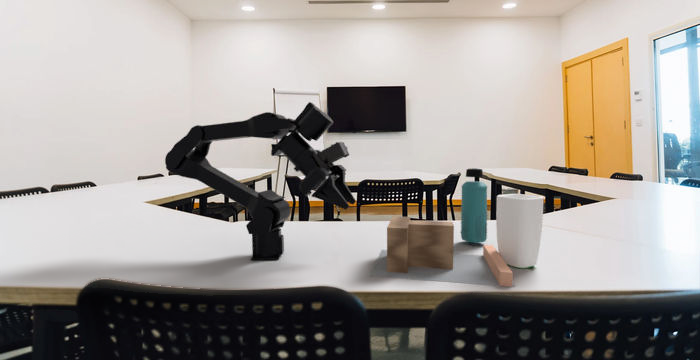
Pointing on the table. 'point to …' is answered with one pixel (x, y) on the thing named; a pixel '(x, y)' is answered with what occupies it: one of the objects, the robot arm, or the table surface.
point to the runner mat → (456, 269)
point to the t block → (419, 244)
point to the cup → (519, 228)
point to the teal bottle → (474, 208)
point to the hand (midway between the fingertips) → (351, 205)
